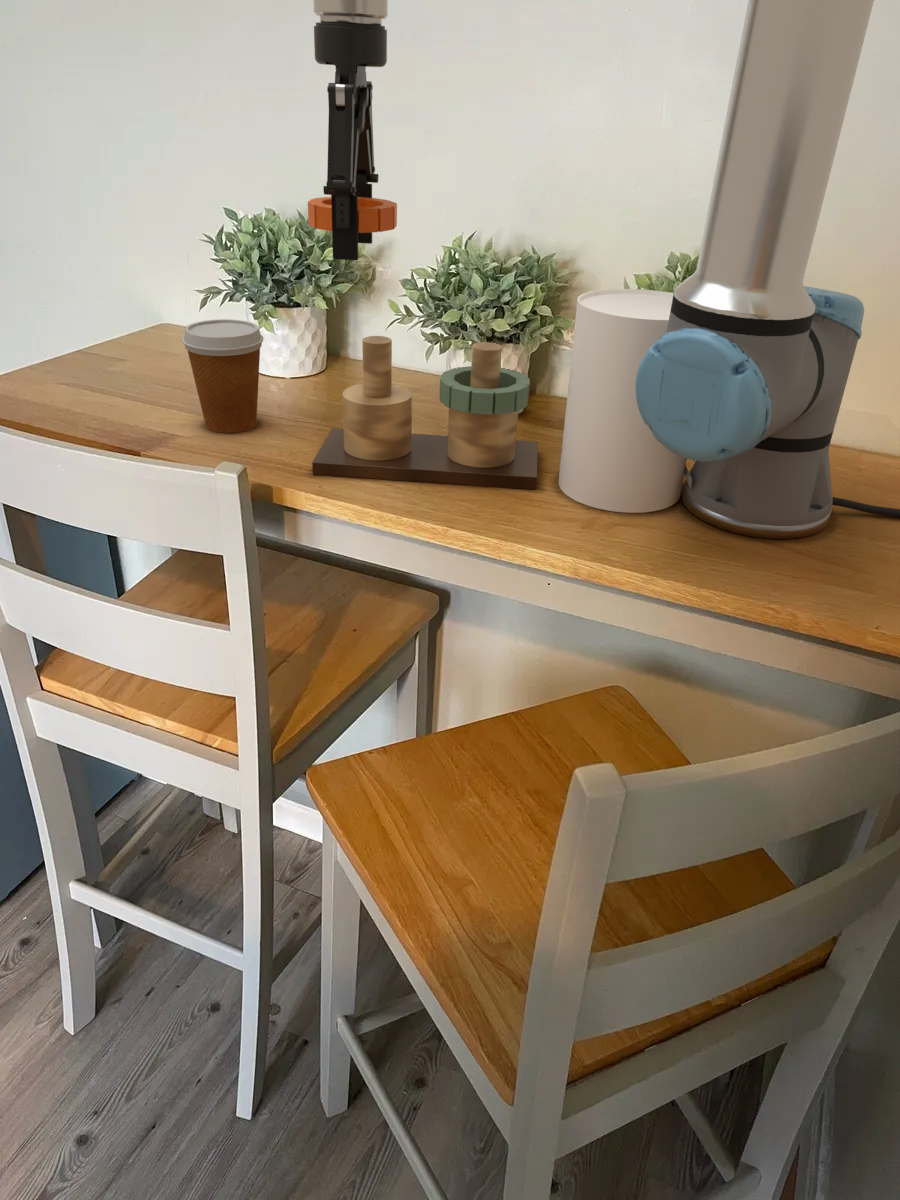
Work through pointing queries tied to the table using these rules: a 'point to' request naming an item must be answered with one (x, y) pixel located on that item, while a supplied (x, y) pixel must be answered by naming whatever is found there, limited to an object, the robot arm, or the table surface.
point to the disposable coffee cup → (225, 371)
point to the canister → (615, 406)
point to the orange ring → (370, 214)
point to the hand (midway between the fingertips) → (353, 250)
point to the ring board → (392, 452)
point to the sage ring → (484, 392)
